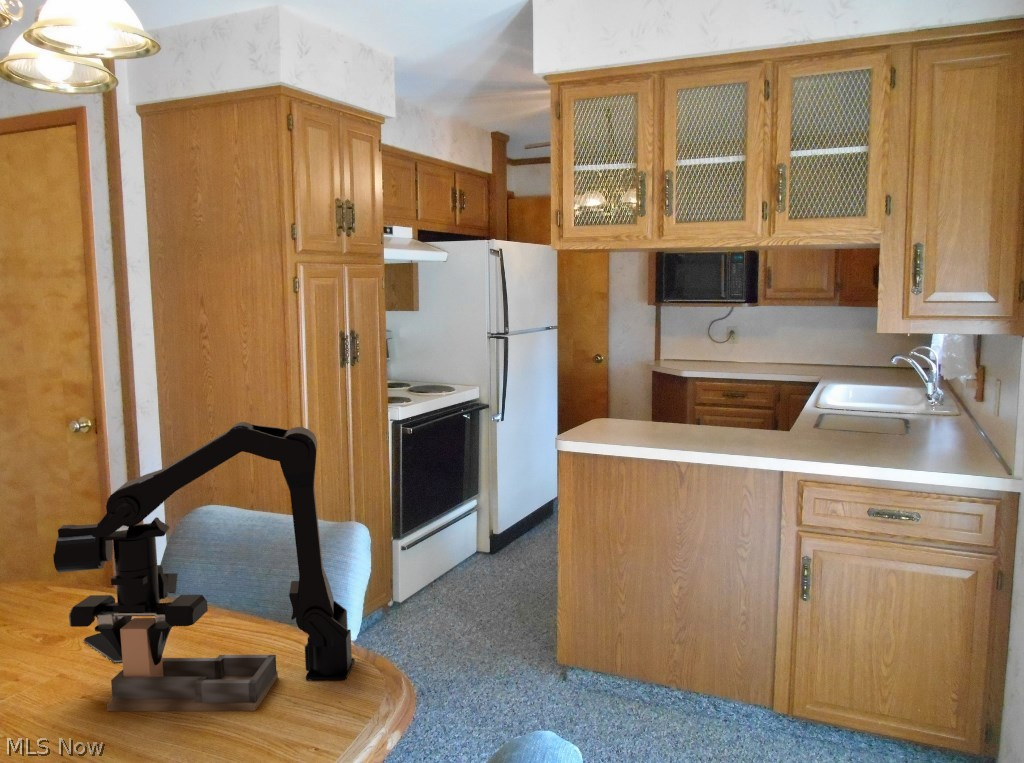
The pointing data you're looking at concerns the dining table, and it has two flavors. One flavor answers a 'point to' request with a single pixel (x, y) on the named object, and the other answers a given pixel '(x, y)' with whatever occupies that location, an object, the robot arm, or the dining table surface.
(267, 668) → the keyhole board
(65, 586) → the dining table surface
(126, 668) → the peg
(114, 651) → the smartphone
